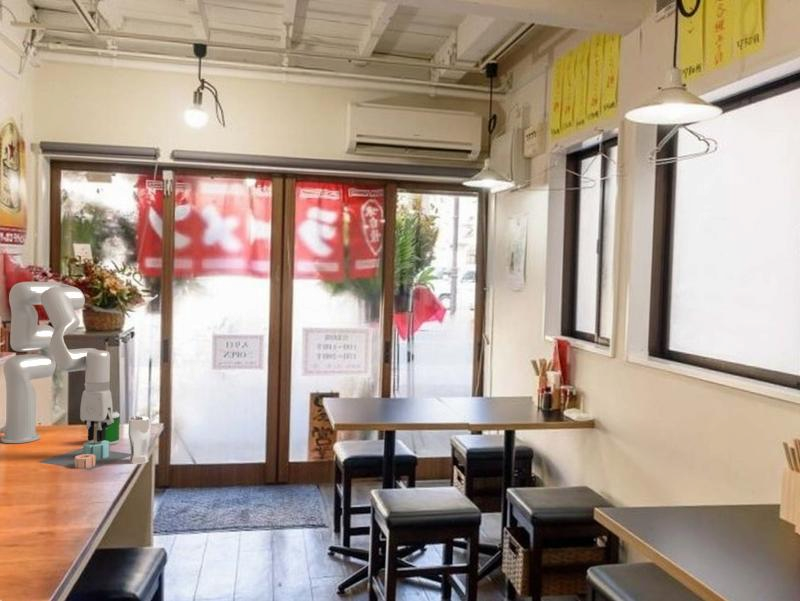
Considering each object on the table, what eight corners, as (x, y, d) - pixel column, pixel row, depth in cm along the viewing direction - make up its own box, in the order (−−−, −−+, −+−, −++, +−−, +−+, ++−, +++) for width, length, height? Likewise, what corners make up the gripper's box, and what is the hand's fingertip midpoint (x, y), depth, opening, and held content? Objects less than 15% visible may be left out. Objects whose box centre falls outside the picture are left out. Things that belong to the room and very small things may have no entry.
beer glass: (123, 463, 213) (124, 418, 213) (140, 458, 220) (141, 414, 219) (137, 466, 210) (138, 421, 210) (154, 461, 216) (155, 417, 216)
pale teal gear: (77, 457, 217) (78, 444, 217) (96, 452, 224) (96, 439, 224) (96, 460, 214) (97, 447, 214) (114, 454, 222) (114, 441, 222)
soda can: (123, 442, 240) (123, 410, 239) (112, 447, 232) (112, 414, 232) (104, 441, 241) (104, 409, 240) (92, 446, 233) (92, 413, 233)
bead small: (71, 468, 205) (71, 458, 205) (80, 462, 211) (80, 453, 211) (90, 468, 205) (90, 459, 205) (98, 463, 211) (98, 454, 211)
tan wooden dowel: (91, 456, 219) (93, 421, 218) (96, 454, 221) (97, 420, 220) (96, 457, 218) (97, 422, 217) (100, 455, 220) (102, 421, 219)
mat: (36, 463, 211) (36, 461, 211) (84, 448, 230) (84, 447, 230) (90, 471, 204) (90, 469, 204) (134, 455, 223) (134, 454, 223)
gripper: (69, 386, 218) (68, 440, 218) (108, 390, 212) (107, 445, 213) (86, 383, 225) (86, 435, 225) (125, 387, 220) (124, 440, 220)
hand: (96, 439), depth 219 cm, fingers open, 3 cm apart
